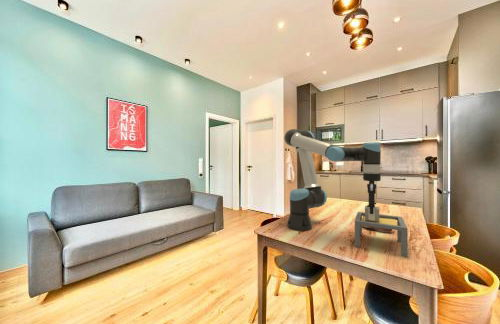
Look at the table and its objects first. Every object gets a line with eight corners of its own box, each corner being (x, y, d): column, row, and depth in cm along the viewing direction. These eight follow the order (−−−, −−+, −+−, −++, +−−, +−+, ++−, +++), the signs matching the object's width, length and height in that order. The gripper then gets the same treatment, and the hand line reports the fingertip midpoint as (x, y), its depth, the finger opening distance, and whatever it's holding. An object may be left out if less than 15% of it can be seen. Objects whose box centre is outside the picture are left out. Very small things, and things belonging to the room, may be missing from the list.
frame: (354, 246, 95) (354, 220, 95) (357, 233, 111) (357, 211, 111) (407, 257, 84) (407, 228, 84) (402, 241, 101) (402, 216, 101)
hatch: (362, 225, 95) (362, 223, 95) (363, 218, 107) (363, 216, 107) (398, 229, 88) (398, 227, 88) (395, 221, 100) (395, 219, 100)
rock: (355, 210, 126) (379, 207, 125) (357, 227, 127) (382, 223, 125) (367, 219, 111) (395, 215, 109) (370, 238, 112) (398, 234, 110)
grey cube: (364, 219, 98) (364, 207, 98) (365, 216, 103) (365, 205, 103) (379, 221, 95) (379, 209, 95) (379, 218, 100) (378, 206, 100)
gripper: (381, 174, 89) (381, 224, 89) (380, 172, 105) (380, 215, 105) (362, 173, 93) (362, 222, 93) (364, 171, 109) (364, 213, 109)
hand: (371, 218), depth 99 cm, fingers open, 6 cm apart
